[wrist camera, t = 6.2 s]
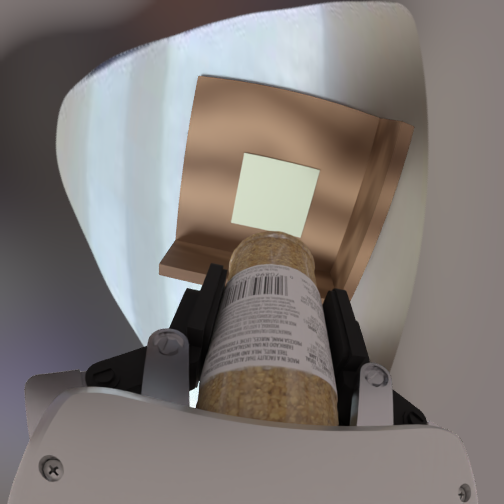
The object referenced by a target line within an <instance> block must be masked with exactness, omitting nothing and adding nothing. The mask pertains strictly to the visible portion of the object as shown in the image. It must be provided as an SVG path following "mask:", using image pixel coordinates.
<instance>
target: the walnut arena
mask: <svg viewBox="0 0 504 504" xmlns="http://www.w3.org/2000/svg"><path fill="white" fill-rule="evenodd" d="M413 131H414V126H411V125H409V124H407V123H405V122H402V121H396V120H389V119H382V118H378V117H375V116H373V115H370V114H367V113H364V112H361V111H358V110H355V109H353V108H349V107H346V106H343V105H340V104H337V103H334V102H330V101H327V100H323V99H320V98H316V97H312V96H309V95H305V94H301V93H297V92H293V91H288V90H284V89H279V88H275V87H270V86H265V85H259V84H254V83H248V82H242V81H236V80H229V79H221V78H213V77H204V76H198V80H197V85H196V91H195V96H194V101H193V107H192V112H191V118H190V124H189V131H188V137H187V144H186V150H185V157H184V165H183V173H182V181H181V189H180V198H179V208H178V218H177V229H176V240H175V242H174V243H173V244H172V246H171V247H170V249H169V250H168V252H167V253H166V255H165V256H164V258H163V259H162V261H161V262H160V264H159V275H162V276H166V277H171V278H175V279H179V280H183V281H188V282H192V283H196V284H201V285H203V282H204V280H205V277H206V274H207V272H208V269H209V267H210V264H211V263H215V264H219V265H224V266H223V269H226V270H228V271H227V277H226V283H225V286H226V284H227V280H228V276H229V262H230V259H231V256H232V254H233V252H234V250H235V249H236V248H237V247H238V245H239V244H240V243H241V242H242V241H243V240H245V239H246V238H248V237H250V236H252V235H254V234H256V233H262V232H265V231H268V230H263V229H259V228H254V227H249V226H245V225H240V224H235V223H231V220H232V215H233V209H234V204H235V199H236V193H237V188H238V183H239V178H240V173H241V167H242V162H243V157H244V153H249V154H254V155H259V156H264V157H268V158H273V159H277V160H282V161H286V162H290V163H294V164H299V165H303V166H307V167H310V168H314V169H318V170H320V172H319V176H318V179H317V183H316V186H315V190H314V193H313V197H312V201H311V204H310V207H309V211H308V214H307V218H306V221H305V225H304V228H303V231H302V235H301V238H300V237H296V238H298V239H299V240H301V241H302V242H303V243H304V244H305V245H306V246H307V247H308V248H309V250H310V252H311V254H312V256H313V259H314V263H315V270H314V274H315V278H316V284H317V289H318V291H319V293H320V297H321V301H322V304H323V302H324V300H325V297H326V295H327V293H328V291H329V290H330V291H332V290H333V288H337V289H342V290H346V291H347V294H348V297H349V300H350V301H351V299H352V297H353V294H354V292H355V290H356V288H357V286H358V284H359V281H360V279H361V277H362V275H363V273H364V270H365V268H366V266H367V263H368V261H369V259H370V256H371V254H372V251H373V249H374V247H375V244H376V242H377V239H378V237H379V234H380V232H381V229H382V226H383V224H384V221H385V219H386V216H387V213H388V210H389V208H390V205H391V202H392V199H393V196H394V193H395V190H396V188H397V185H398V181H399V178H400V175H401V172H402V169H403V166H404V162H405V159H406V156H407V152H408V149H409V145H410V142H411V138H412V135H413ZM294 237H295V236H294Z"/></svg>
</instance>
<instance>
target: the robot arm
mask: <svg viewBox="0 0 504 504" xmlns="http://www.w3.org/2000/svg"><path fill="white" fill-rule="evenodd" d="M223 266H224V265H219V264H215V263H211V264H210V267H209V269H208V272H207V274H206V277H205V280H204V282H203V285H202V288H201V290H200V291H198V290H193V289H189V288H187V289H186V291H185V293H184V295H183V297H182V300H181V302H180V304H179V307H178V309H177V311H176V313H175V316H174V318H173V320H172V323H171V325H170V327H169V329H160V330H157V331H155V332H154V333H152V335H151V336H150V337H149V340H148V344H147V346H145V347H142V348H140V349H137V350H134V351H131V352H128V353H125V354H122V355H119V356H116V357H112V358H110V359H106V360H103V361H100V362H97V363H95V364H93V365H92V366H91V367H89V368H88V370H87V371H84V372H80V370H79V369H78V370H71V371H64V372H56V373H48V374H39V375H35V376H32V377H31V378H29V379H28V381H27V382H26V384H25V389H24V390H25V403H26V404H25V405H26V416H27V424H28V431H29V438H30V441H29V443H28V445H27V448H26V450H25V452H24V455H23V457H22V460H21V462H20V465H19V468H18V471H17V473H16V477H15V479H14V482H13V485H12V488H11V492H10V496H9V499H8V503H7V504H478V498H477V491H476V486H475V480H474V477H473V472H472V468H471V464H470V461H469V458H468V455H467V452H466V450H465V447H464V445H463V442H462V440H461V438H460V437H458V436H457V435H456V434H455V433H454V432H452V431H449V430H448V429H444V428H442V427H440V426H439V425H437V424H435V423H433V422H431V421H429V422H427V421H426V418H425V416H424V414H423V413H422V412H421V411H420V410H419V409H418V408H416V407H415V406H414V405H412V404H411V403H410V402H408V401H407V400H406V399H404V398H403V397H402V396H401V395H399V394H398V393H397V392H395V391H394V390H393V389H392V379H391V375H390V373H389V371H388V370H387V369H386V368H385V367H383V366H382V365H380V364H377V363H372V362H371V363H370V361H369V357H368V353H367V350H366V346H365V343H364V339H363V336H362V333H361V329H360V326H359V323H358V322H357V321H356V320H355V317H354V313H353V310H352V307H351V304H350V300H349V297H348V294H347V291H346V290H342V289H337V288H333V290H332V291H330V290H329V291H328V293H327V295H326V297H325V300H324V302H323V304H322V306H323V312H324V318H325V324H326V329H327V335H328V340H329V346H330V352H331V358H332V364H333V370H334V376H335V382H336V389H337V397H338V402H337V411H338V422H339V425H338V426H323V425H306V424H293V423H282V422H273V421H265V420H257V419H250V418H244V417H237V416H231V415H226V414H220V413H215V412H210V411H205V410H201V409H196V408H192V407H190V406H189V391H190V390H193V389H195V387H196V388H197V386H198V382H199V381H200V378H201V374H202V370H203V366H204V362H205V358H206V354H207V352H208V349H209V345H210V341H211V337H212V333H213V329H214V325H215V321H216V318H217V314H218V310H219V306H220V303H221V299H222V295H223V291H224V288H225V283H226V277H227V271H228V270H226V269H223Z"/></svg>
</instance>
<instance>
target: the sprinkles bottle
mask: <svg viewBox="0 0 504 504" xmlns="http://www.w3.org/2000/svg"><path fill="white" fill-rule="evenodd" d="M314 270H315V263H314V259H313V256H312V254H311V252H310V250H309V248H308V247H307V246H306V245H305V244H304V243H303V242H302V241H301V240H299V239H298V238H296V237H294V236H293V235H290V234H287V233H284V232H281V231H265V232H262V233H256V234H254V235H252V236H250V237H248V238H246V239H245V240H243V241H242V242H241V243H240V244H239V245H238V247H237V248H236V249H235V250H234V252H233V254H232V256H231V259H230V262H229V276H228V280H227V284H226V286H225V288H224V291H223V295H222V299H221V303H220V306H219V310H218V314H217V318H216V321H215V325H214V329H213V333H212V337H211V341H210V345H209V349H208V352H207V354H206V358H205V362H204V366H203V370H202V374H201V378H200V383H199V394H198V402H197V404H196V409H201V410H205V411H210V412H215V413H220V414H226V415H231V416H237V417H244V418H250V419H257V420H265V421H273V422H282V423H293V424H306V425H323V426H338V425H339V422H338V411H337V402H338V397H337V389H336V382H335V376H334V370H333V364H332V358H331V352H330V346H329V340H328V335H327V329H326V324H325V318H324V312H323V306H322V301H321V297H320V293H319V291H318V289H317V284H316V278H315V274H314Z"/></svg>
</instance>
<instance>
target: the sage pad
mask: <svg viewBox="0 0 504 504" xmlns="http://www.w3.org/2000/svg"><path fill="white" fill-rule="evenodd" d="M319 172H320V170H318V169H314V168H310V167H307V166H303V165H299V164H294V163H290V162H286V161H282V160H277V159H273V158H268V157H264V156H259V155H254V154H249V153H244V157H243V162H242V167H241V173H240V178H239V183H238V188H237V193H236V199H235V204H234V209H233V215H232V220H231V223H235V224H240V225H245V226H249V227H254V228H259V229H263V230H268V231H281V232H284V233H287V234H290V235H293V236H295V237H300V238H301V235H302V231H303V228H304V225H305V221H306V218H307V214H308V211H309V207H310V204H311V201H312V197H313V193H314V190H315V186H316V183H317V179H318V176H319Z"/></svg>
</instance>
